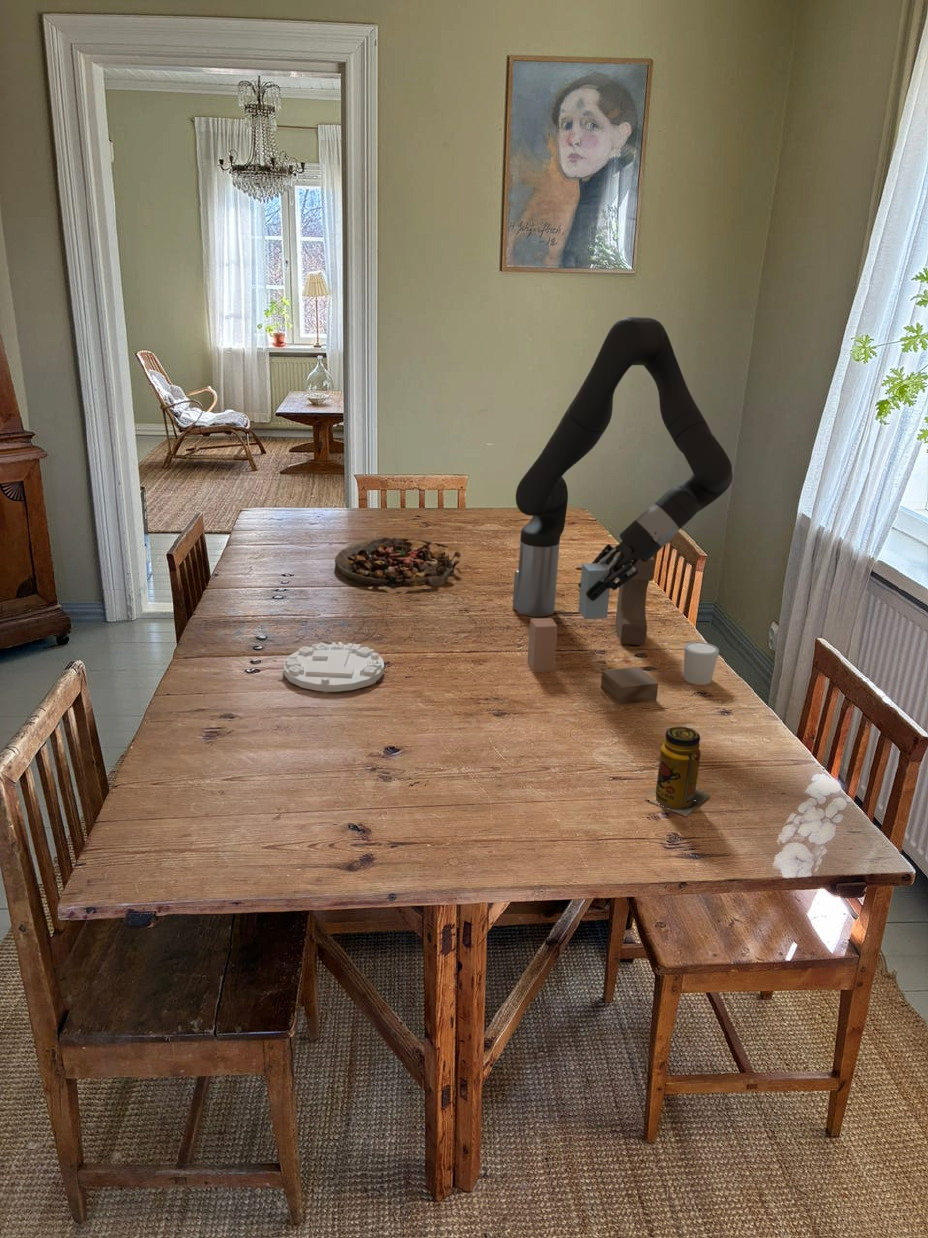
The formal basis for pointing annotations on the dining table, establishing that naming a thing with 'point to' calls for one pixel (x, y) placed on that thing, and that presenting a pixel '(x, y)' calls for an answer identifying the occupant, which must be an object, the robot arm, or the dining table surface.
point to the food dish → (395, 563)
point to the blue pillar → (588, 579)
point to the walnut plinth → (629, 685)
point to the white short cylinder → (699, 662)
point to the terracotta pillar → (542, 644)
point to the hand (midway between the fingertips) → (585, 593)
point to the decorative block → (634, 605)
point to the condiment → (679, 772)
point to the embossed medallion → (334, 667)
